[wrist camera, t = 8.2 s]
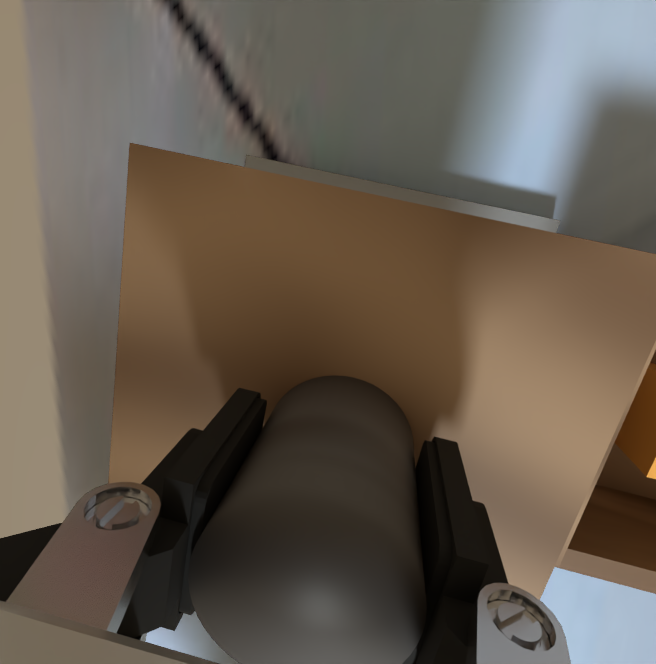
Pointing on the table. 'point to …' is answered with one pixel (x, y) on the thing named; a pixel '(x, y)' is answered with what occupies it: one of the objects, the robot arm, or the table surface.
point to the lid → (362, 389)
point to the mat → (403, 194)
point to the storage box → (616, 520)
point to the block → (641, 426)
